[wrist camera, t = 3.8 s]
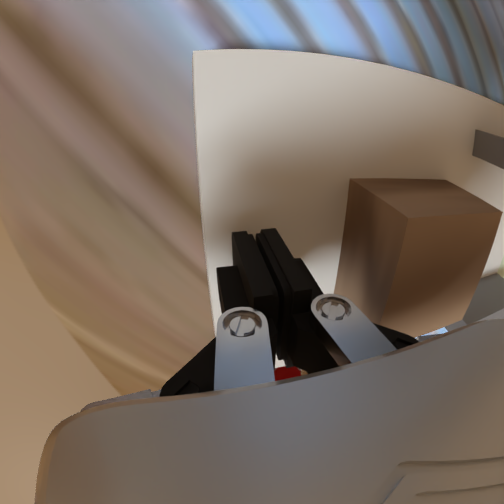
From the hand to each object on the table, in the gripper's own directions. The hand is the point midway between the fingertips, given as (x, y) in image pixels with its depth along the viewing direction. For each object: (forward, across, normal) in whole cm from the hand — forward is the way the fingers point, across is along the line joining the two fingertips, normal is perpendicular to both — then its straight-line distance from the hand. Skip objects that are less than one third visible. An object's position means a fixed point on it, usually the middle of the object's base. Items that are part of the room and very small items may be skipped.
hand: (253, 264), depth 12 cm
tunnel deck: (+5, -16, 0) cm, 17 cm away
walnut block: (+1, -7, 0) cm, 7 cm away
